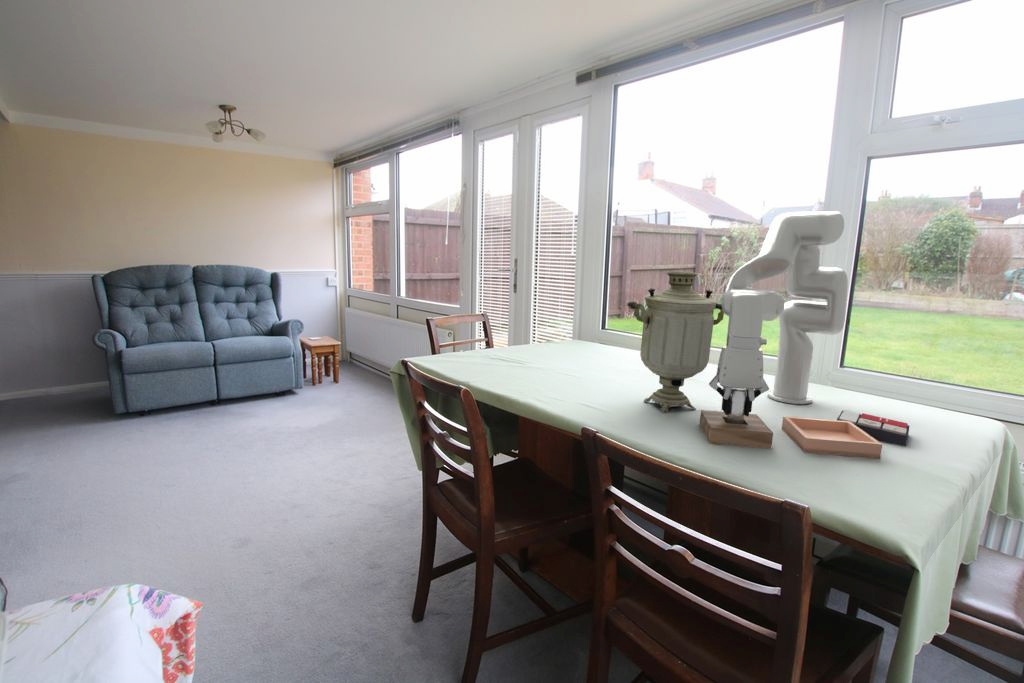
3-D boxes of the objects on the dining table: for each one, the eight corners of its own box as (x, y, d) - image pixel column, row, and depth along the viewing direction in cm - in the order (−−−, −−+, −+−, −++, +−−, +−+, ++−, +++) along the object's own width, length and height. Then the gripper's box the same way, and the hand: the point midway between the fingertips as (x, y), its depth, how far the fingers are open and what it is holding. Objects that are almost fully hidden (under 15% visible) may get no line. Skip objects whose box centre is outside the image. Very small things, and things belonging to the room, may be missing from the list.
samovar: (706, 393, 165) (718, 271, 158) (733, 419, 140) (748, 275, 133) (615, 389, 168) (622, 269, 161) (624, 414, 142) (634, 272, 135)
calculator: (908, 433, 122) (836, 416, 131) (904, 450, 123) (833, 432, 132) (910, 422, 130) (842, 407, 140) (906, 438, 131) (839, 421, 140)
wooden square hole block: (699, 424, 135) (700, 410, 135) (754, 428, 133) (756, 414, 132) (709, 443, 122) (711, 427, 121) (771, 448, 119) (773, 432, 119)
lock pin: (723, 431, 130) (728, 386, 128) (740, 432, 129) (744, 388, 127) (727, 437, 126) (731, 391, 124) (744, 438, 125) (749, 392, 123)
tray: (781, 428, 133) (783, 416, 132) (847, 434, 130) (849, 421, 130) (804, 452, 118) (806, 438, 117) (880, 458, 115) (882, 444, 114)
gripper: (774, 341, 125) (766, 411, 129) (704, 338, 128) (698, 407, 132) (785, 347, 118) (776, 421, 121) (710, 343, 121) (703, 416, 124)
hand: (735, 413), depth 126 cm, fingers closed on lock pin, 4 cm apart
